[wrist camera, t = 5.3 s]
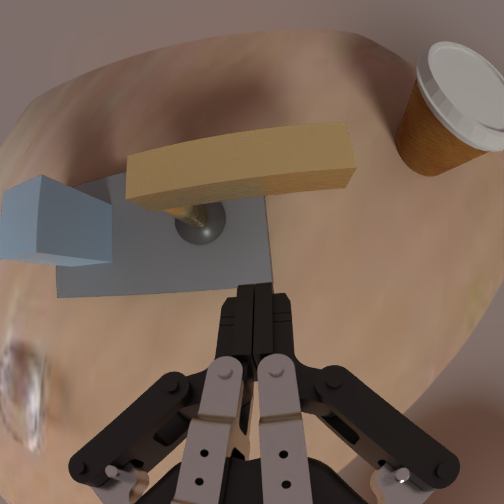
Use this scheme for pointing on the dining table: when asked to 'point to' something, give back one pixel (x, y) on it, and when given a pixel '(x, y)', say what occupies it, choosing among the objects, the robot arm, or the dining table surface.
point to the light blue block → (54, 225)
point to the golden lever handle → (239, 168)
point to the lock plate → (172, 248)
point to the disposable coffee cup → (451, 110)
